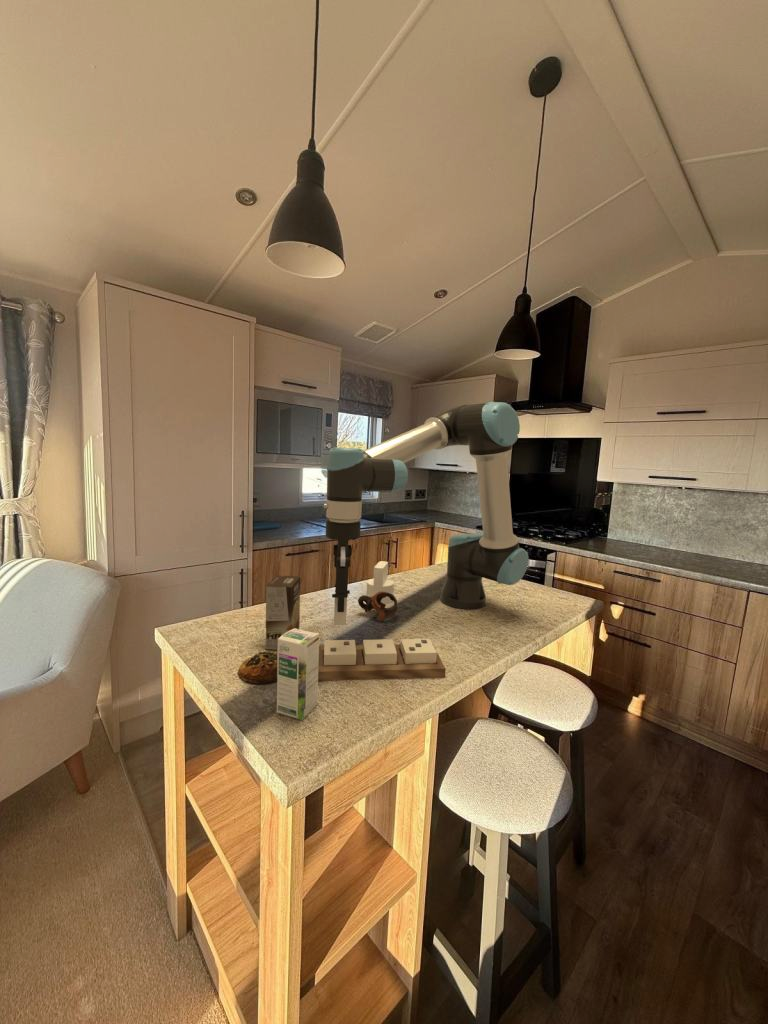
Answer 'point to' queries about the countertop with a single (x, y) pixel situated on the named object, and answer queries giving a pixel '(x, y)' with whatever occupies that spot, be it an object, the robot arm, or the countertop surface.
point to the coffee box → (281, 608)
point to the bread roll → (260, 668)
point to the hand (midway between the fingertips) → (340, 623)
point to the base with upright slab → (380, 582)
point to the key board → (379, 668)
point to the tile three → (418, 651)
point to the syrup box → (297, 673)
